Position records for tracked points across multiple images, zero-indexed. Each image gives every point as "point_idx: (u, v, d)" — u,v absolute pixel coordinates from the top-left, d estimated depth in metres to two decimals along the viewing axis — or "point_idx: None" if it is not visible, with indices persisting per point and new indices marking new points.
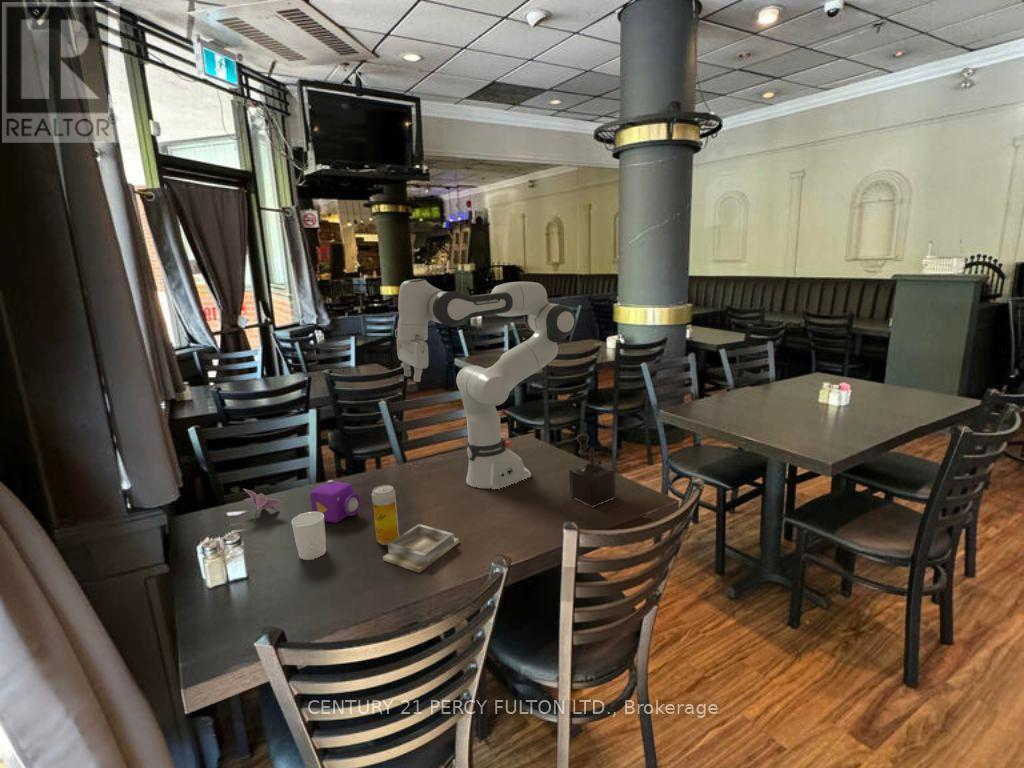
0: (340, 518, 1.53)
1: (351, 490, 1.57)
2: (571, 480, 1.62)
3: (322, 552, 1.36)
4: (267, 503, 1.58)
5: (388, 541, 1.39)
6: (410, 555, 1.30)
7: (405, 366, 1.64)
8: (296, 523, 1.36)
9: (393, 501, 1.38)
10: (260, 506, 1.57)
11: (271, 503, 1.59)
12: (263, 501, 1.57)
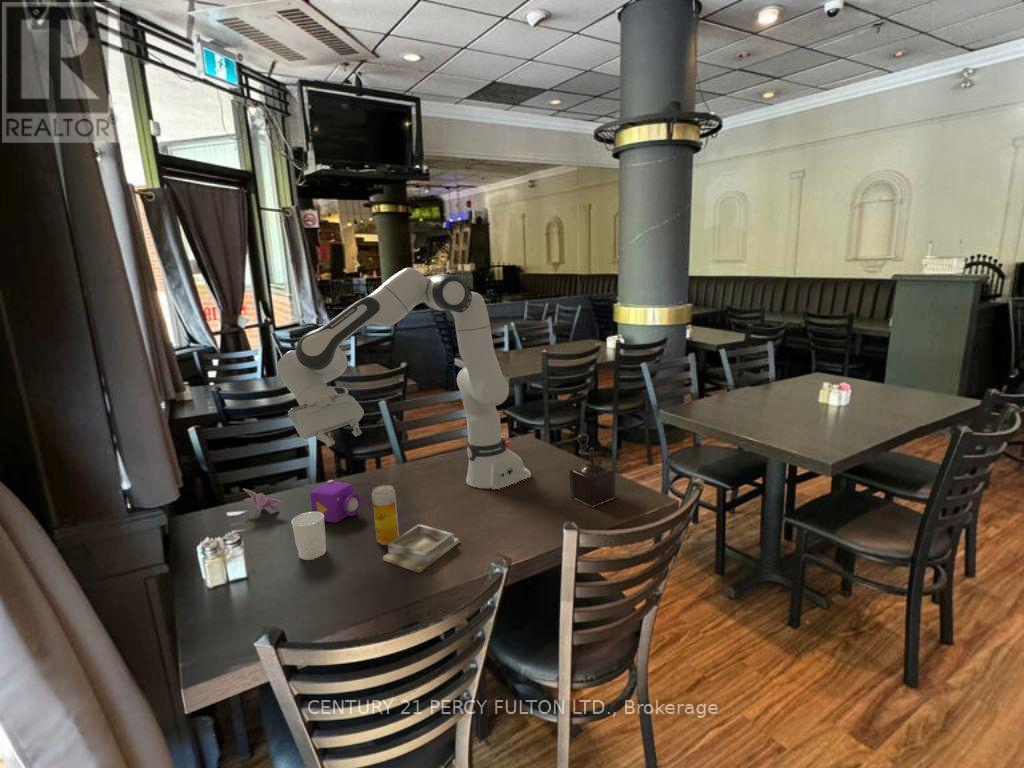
0: (340, 518, 1.53)
1: (351, 490, 1.57)
2: (571, 480, 1.62)
3: (322, 552, 1.36)
4: (267, 503, 1.59)
5: (388, 541, 1.39)
6: (410, 555, 1.30)
7: (353, 426, 1.48)
8: (296, 523, 1.36)
9: (393, 501, 1.38)
10: (260, 506, 1.58)
11: (271, 503, 1.59)
12: (263, 501, 1.57)
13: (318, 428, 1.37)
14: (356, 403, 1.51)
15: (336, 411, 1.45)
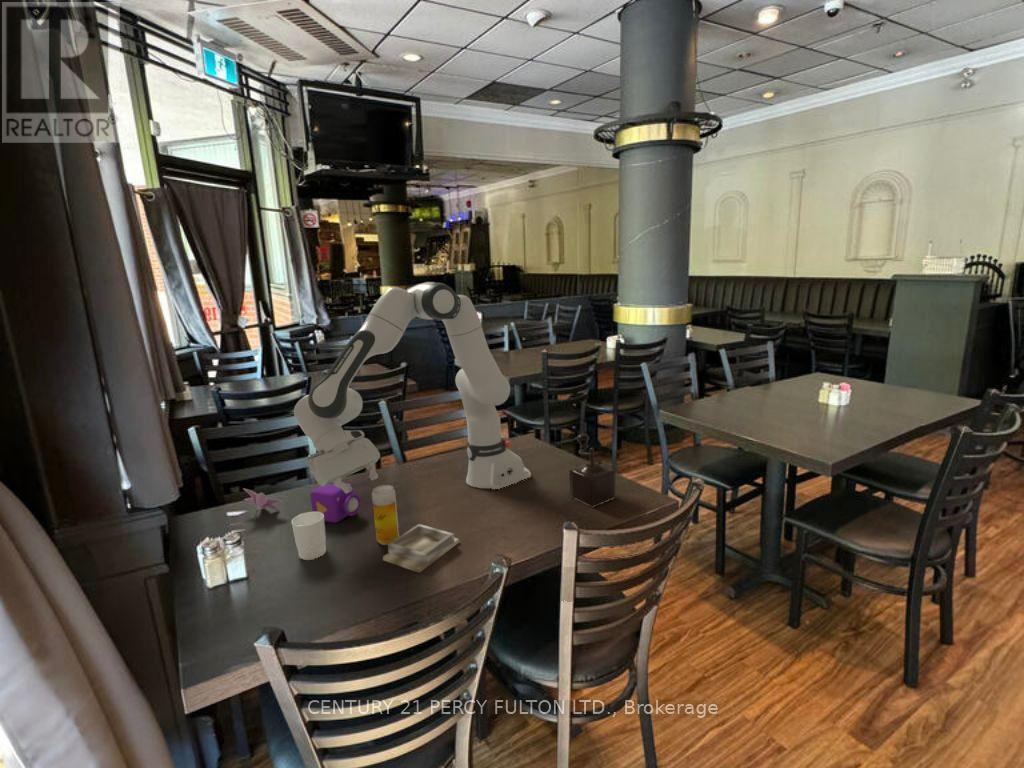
0: (340, 518, 1.53)
1: (351, 490, 1.57)
2: (571, 480, 1.62)
3: (322, 552, 1.36)
4: (267, 502, 1.59)
5: (388, 541, 1.39)
6: (410, 555, 1.30)
7: (370, 470, 1.48)
8: (296, 523, 1.36)
9: (393, 501, 1.38)
10: (260, 505, 1.58)
11: (271, 502, 1.59)
12: (263, 500, 1.57)
13: (336, 475, 1.38)
14: (372, 446, 1.51)
15: (353, 456, 1.45)
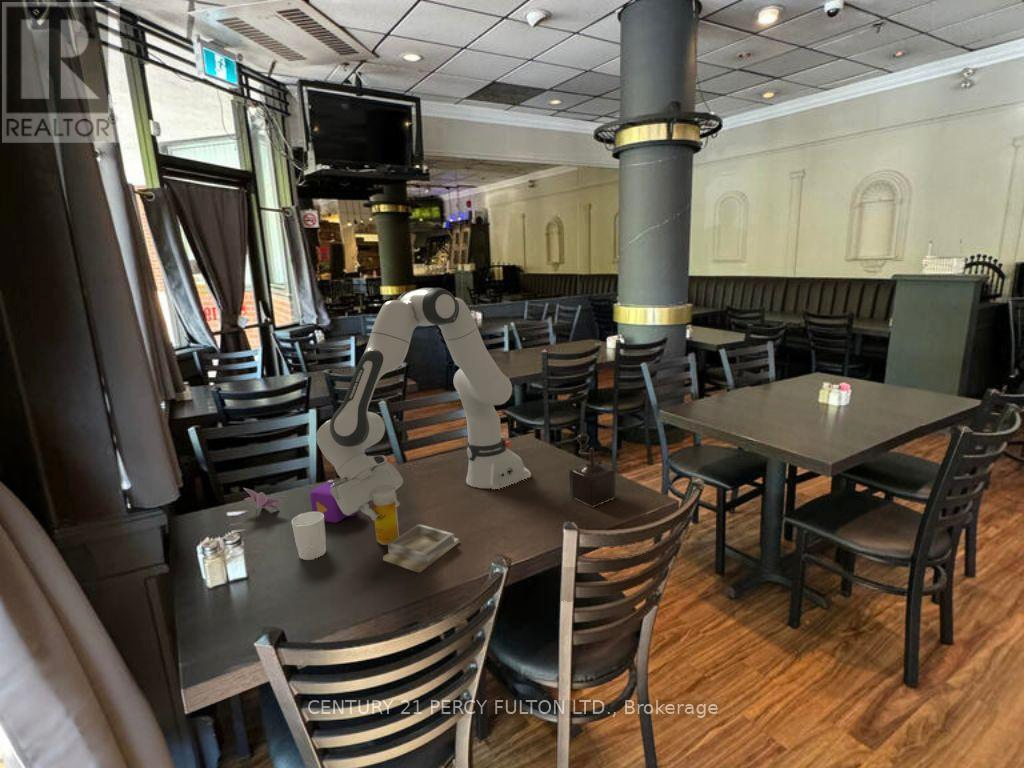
0: (340, 518, 1.53)
1: None
2: (571, 480, 1.62)
3: (322, 552, 1.36)
4: (267, 502, 1.59)
5: (388, 541, 1.39)
6: (410, 555, 1.30)
7: None
8: (296, 523, 1.36)
9: (393, 501, 1.38)
10: (260, 505, 1.58)
11: (271, 502, 1.60)
12: (263, 500, 1.58)
13: (360, 504, 1.35)
14: (395, 471, 1.48)
15: (376, 482, 1.42)
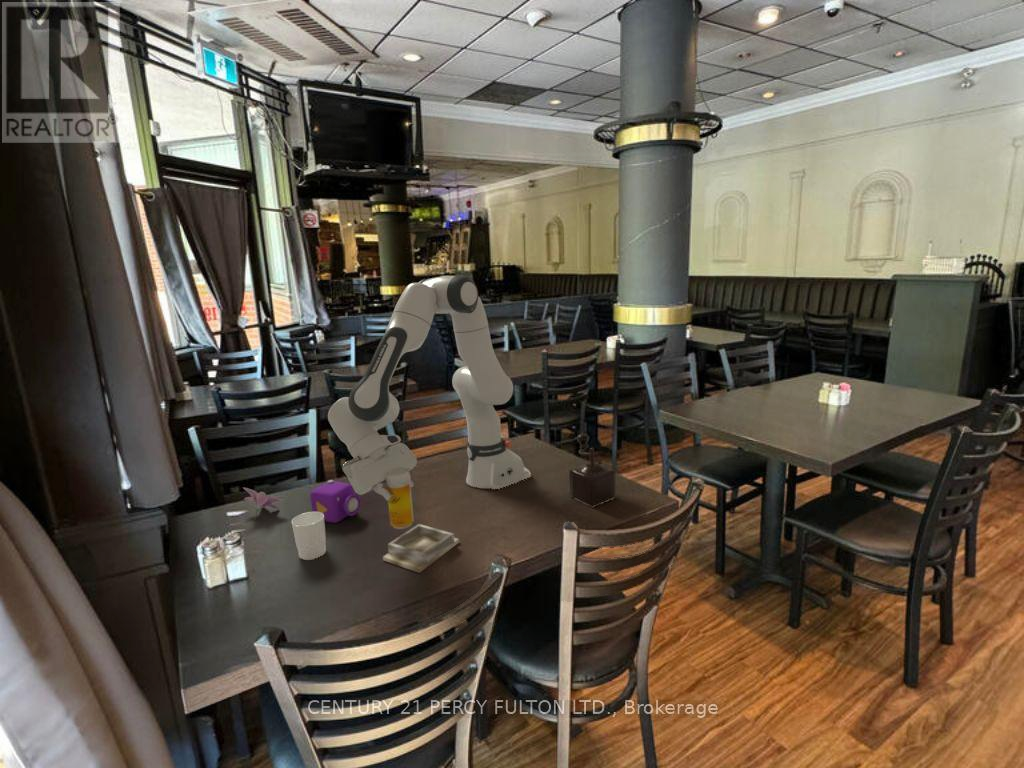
0: (340, 518, 1.53)
1: (351, 490, 1.57)
2: (571, 480, 1.62)
3: (322, 552, 1.36)
4: (267, 501, 1.59)
5: (402, 525, 1.35)
6: (410, 555, 1.30)
7: None
8: (296, 523, 1.36)
9: (407, 484, 1.34)
10: (261, 504, 1.58)
11: (271, 501, 1.60)
12: (264, 499, 1.58)
13: (374, 483, 1.31)
14: (409, 451, 1.44)
15: (390, 462, 1.38)
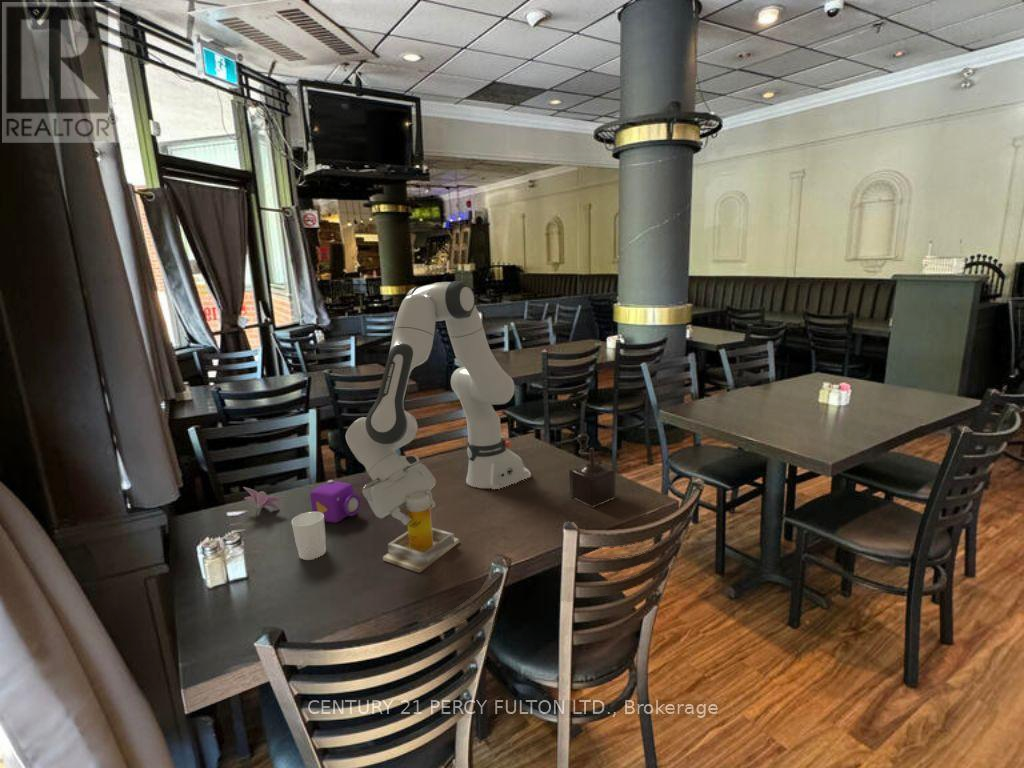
0: (340, 518, 1.53)
1: (351, 490, 1.57)
2: (571, 480, 1.62)
3: (322, 552, 1.36)
4: (268, 501, 1.60)
5: (422, 549, 1.33)
6: (410, 555, 1.30)
7: None
8: (296, 523, 1.36)
9: (427, 507, 1.32)
10: (261, 504, 1.59)
11: (271, 501, 1.60)
12: (264, 499, 1.59)
13: (394, 506, 1.28)
14: (428, 472, 1.42)
15: (409, 483, 1.36)
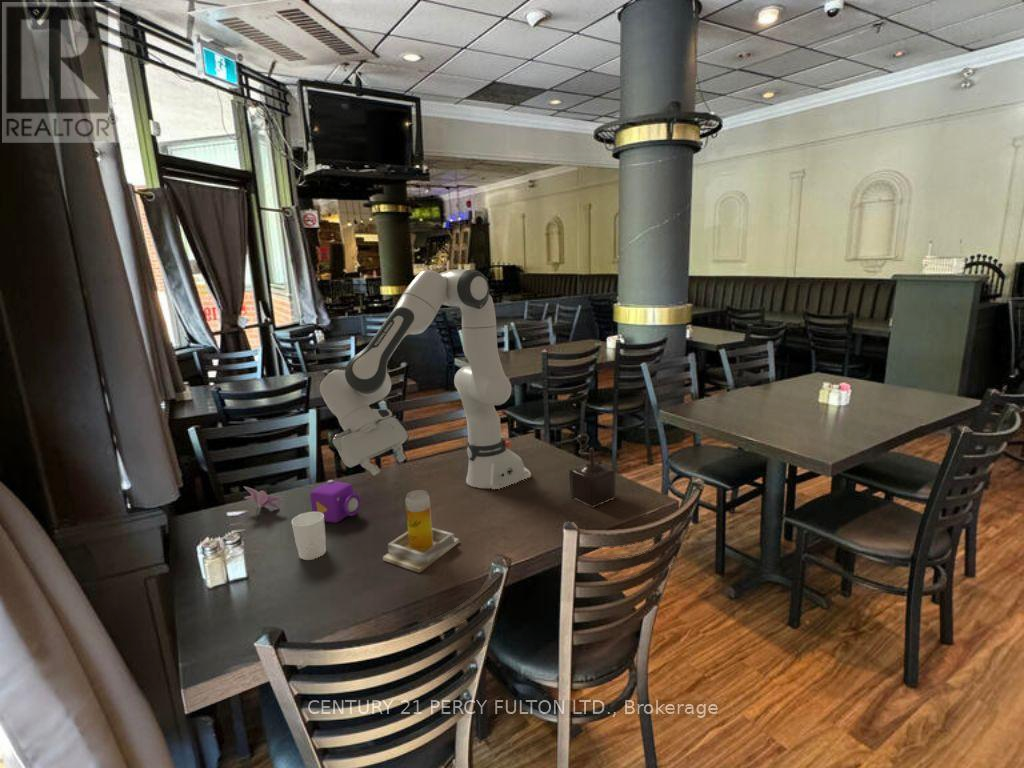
0: (340, 518, 1.53)
1: (351, 490, 1.57)
2: (571, 480, 1.62)
3: (322, 552, 1.36)
4: (268, 500, 1.60)
5: (422, 549, 1.33)
6: (410, 555, 1.30)
7: (397, 451, 1.42)
8: (296, 523, 1.36)
9: (427, 507, 1.32)
10: (261, 503, 1.59)
11: (272, 500, 1.61)
12: (264, 498, 1.59)
13: (363, 456, 1.32)
14: (400, 426, 1.45)
15: (380, 436, 1.39)
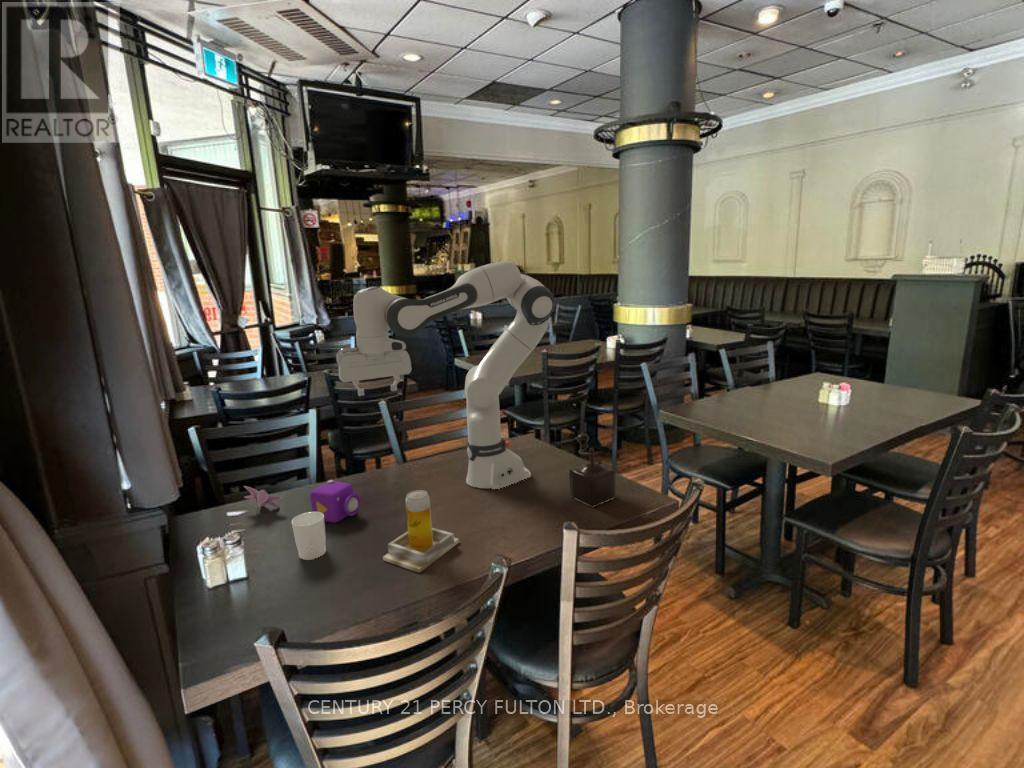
0: (340, 518, 1.53)
1: (351, 490, 1.57)
2: (571, 480, 1.62)
3: (322, 552, 1.36)
4: (268, 500, 1.61)
5: (422, 549, 1.33)
6: (410, 555, 1.30)
7: (395, 380, 1.53)
8: (296, 523, 1.36)
9: (427, 507, 1.32)
10: (261, 503, 1.60)
11: (272, 499, 1.61)
12: (264, 498, 1.59)
13: (354, 380, 1.46)
14: (407, 361, 1.51)
15: (382, 365, 1.48)
